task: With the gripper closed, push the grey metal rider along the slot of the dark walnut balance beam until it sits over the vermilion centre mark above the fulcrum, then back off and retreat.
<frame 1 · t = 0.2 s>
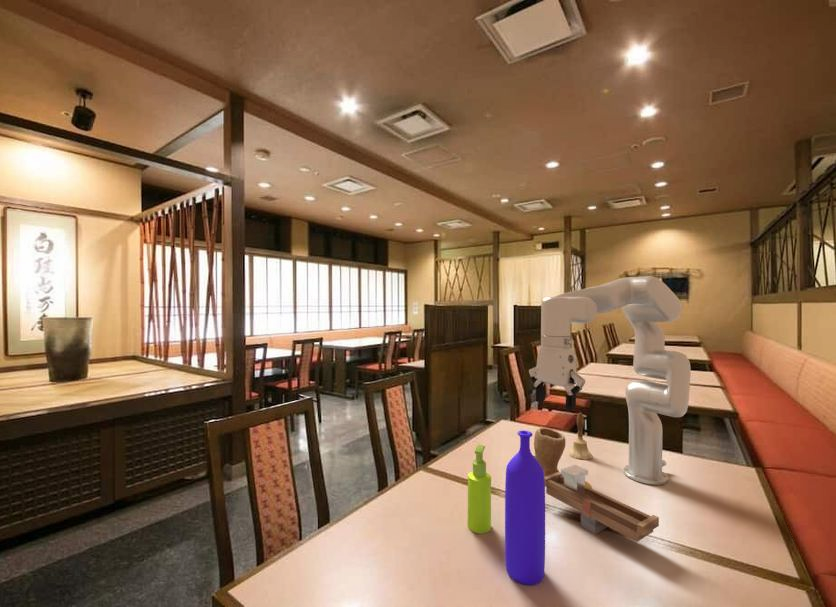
hand: (554, 405, 102), 30 cm above the table, fingers open, 9 cm apart
bottle: (524, 573, 80), on the table
rider: (574, 481, 102), point 9 cm above the table, slide at -6.0 cm
hand bell: (580, 455, 142), on the table
beam: (594, 526, 97), on the table
soap dispenser: (479, 525, 97), on the table
stone cup: (544, 474, 126), on the table
bread roll: (576, 492, 115), on the table
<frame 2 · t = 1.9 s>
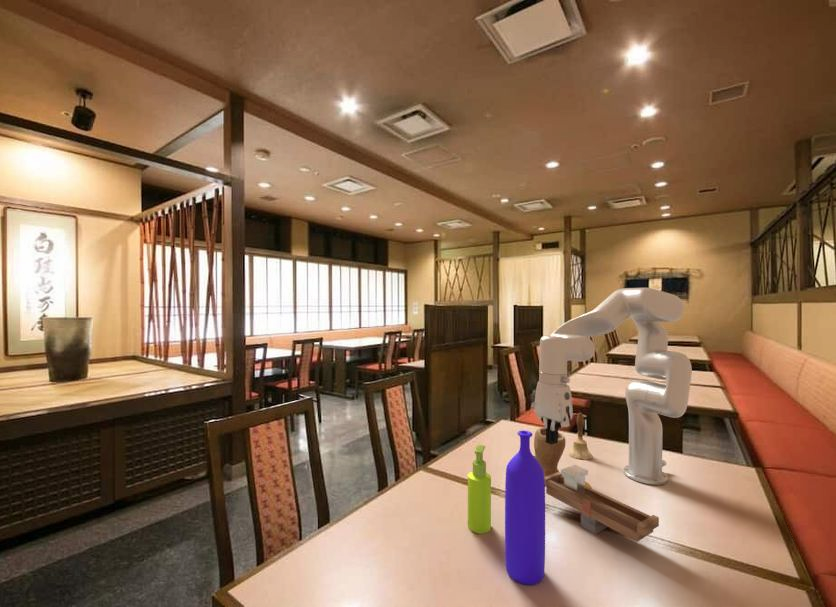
hand: (551, 442, 107), 18 cm above the table, fingers closed
nothing on the table moved.
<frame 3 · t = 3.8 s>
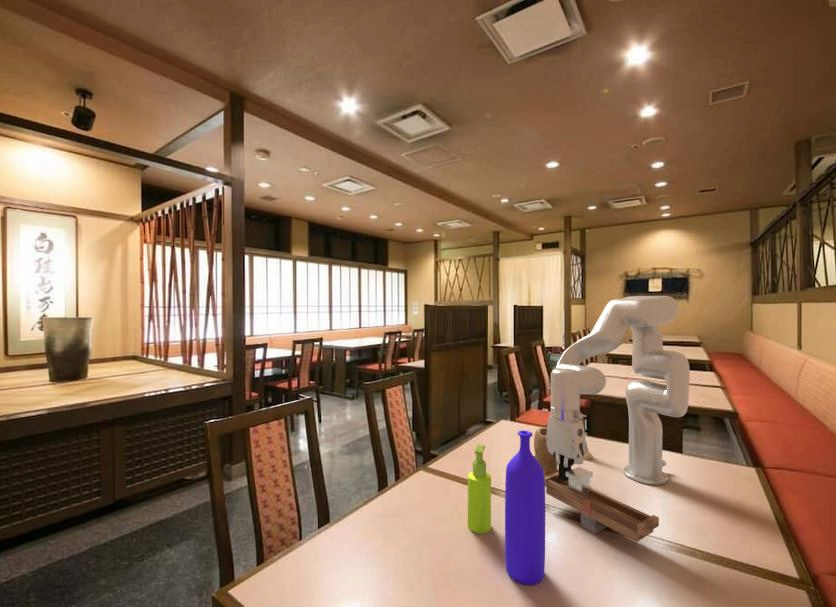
hand: (564, 479, 104), 9 cm above the table, fingers closed
rider: (579, 483, 100), point 9 cm above the table, slide at -4.6 cm, touching gripper
everything else where it was.
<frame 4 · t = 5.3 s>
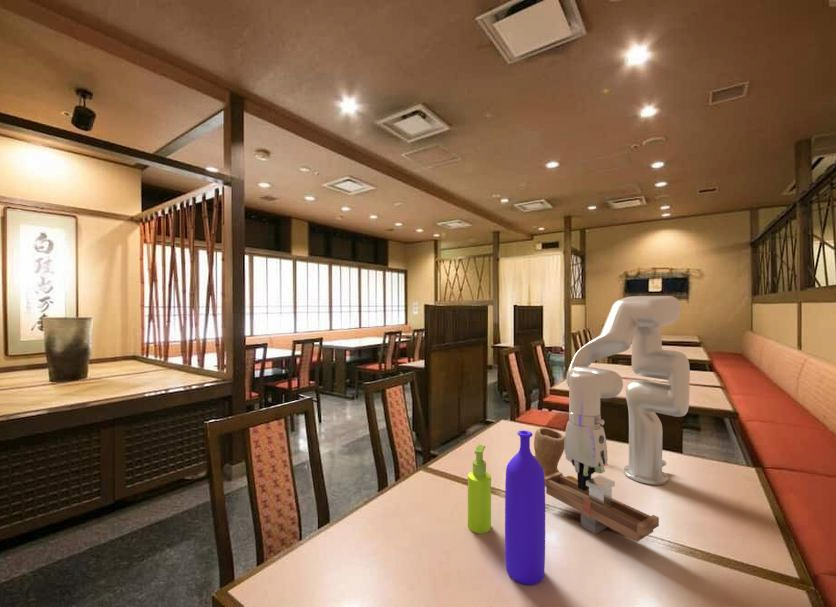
hand: (584, 488, 99), 9 cm above the table, fingers closed
rider: (600, 493, 95), point 9 cm above the table, slide at 1.5 cm, touching gripper
everything else where it was.
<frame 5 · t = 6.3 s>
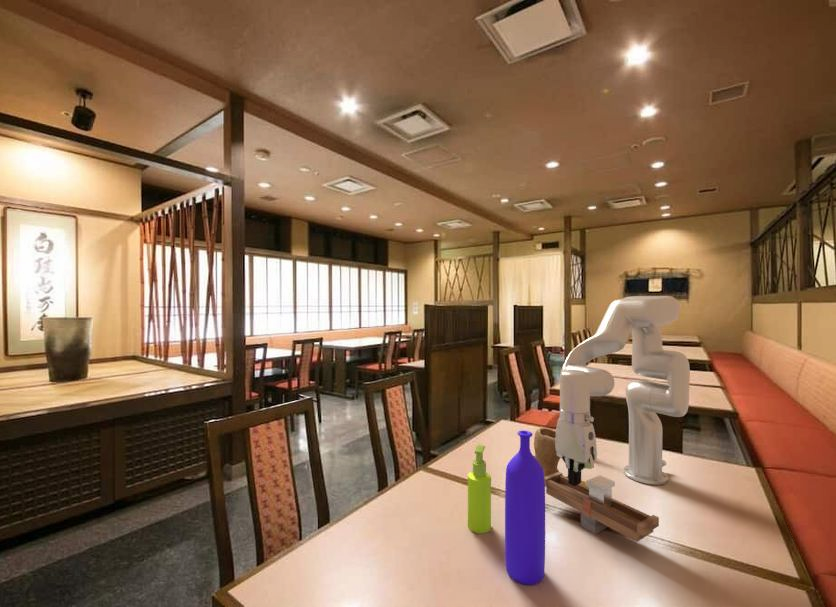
hand: (574, 483, 102), 9 cm above the table, fingers closed
rider: (600, 493, 95), point 9 cm above the table, slide at 1.5 cm
everything else where it was.
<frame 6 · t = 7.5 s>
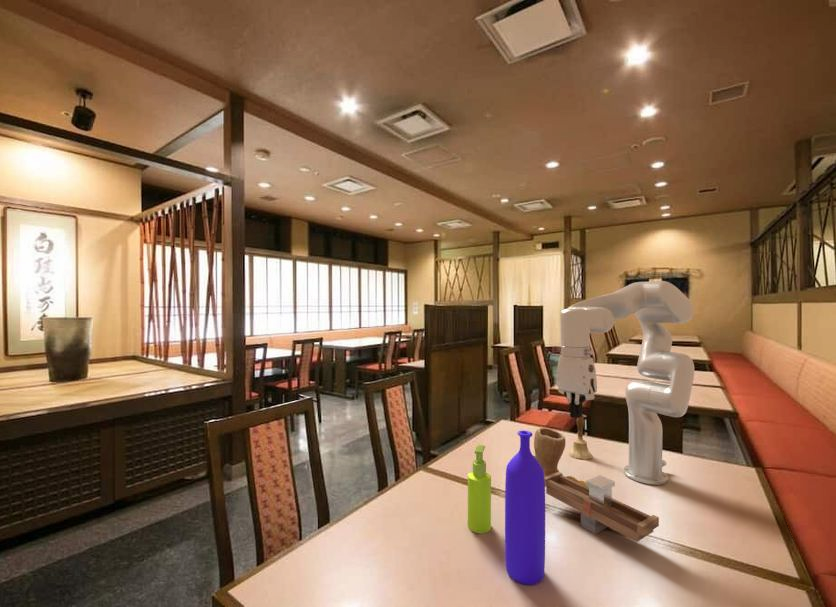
hand: (576, 416, 106), 25 cm above the table, fingers closed
nothing on the table moved.
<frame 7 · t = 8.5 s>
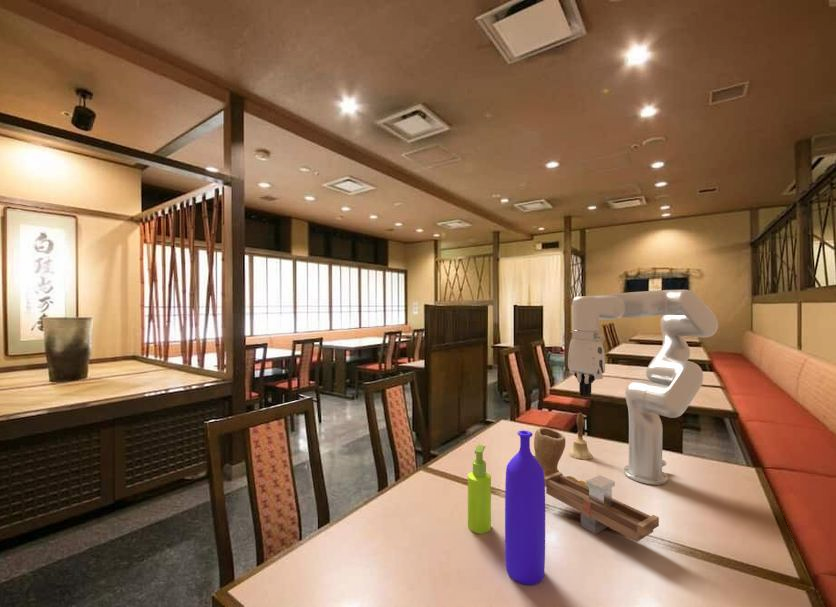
hand: (585, 395, 115), 29 cm above the table, fingers closed
nothing on the table moved.
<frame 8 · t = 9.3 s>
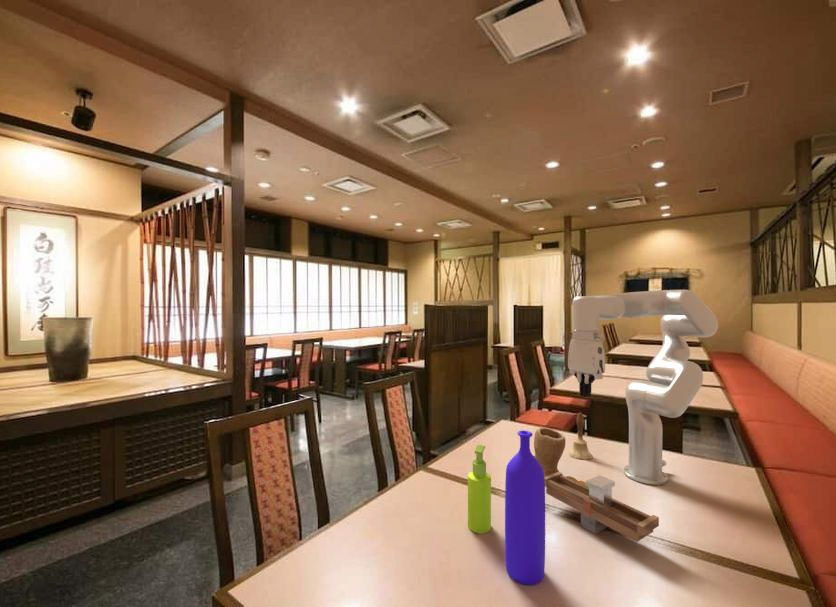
hand: (585, 395, 115), 29 cm above the table, fingers closed
nothing on the table moved.
at the end: rider slide at 1.5 cm; rider touching nothing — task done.
